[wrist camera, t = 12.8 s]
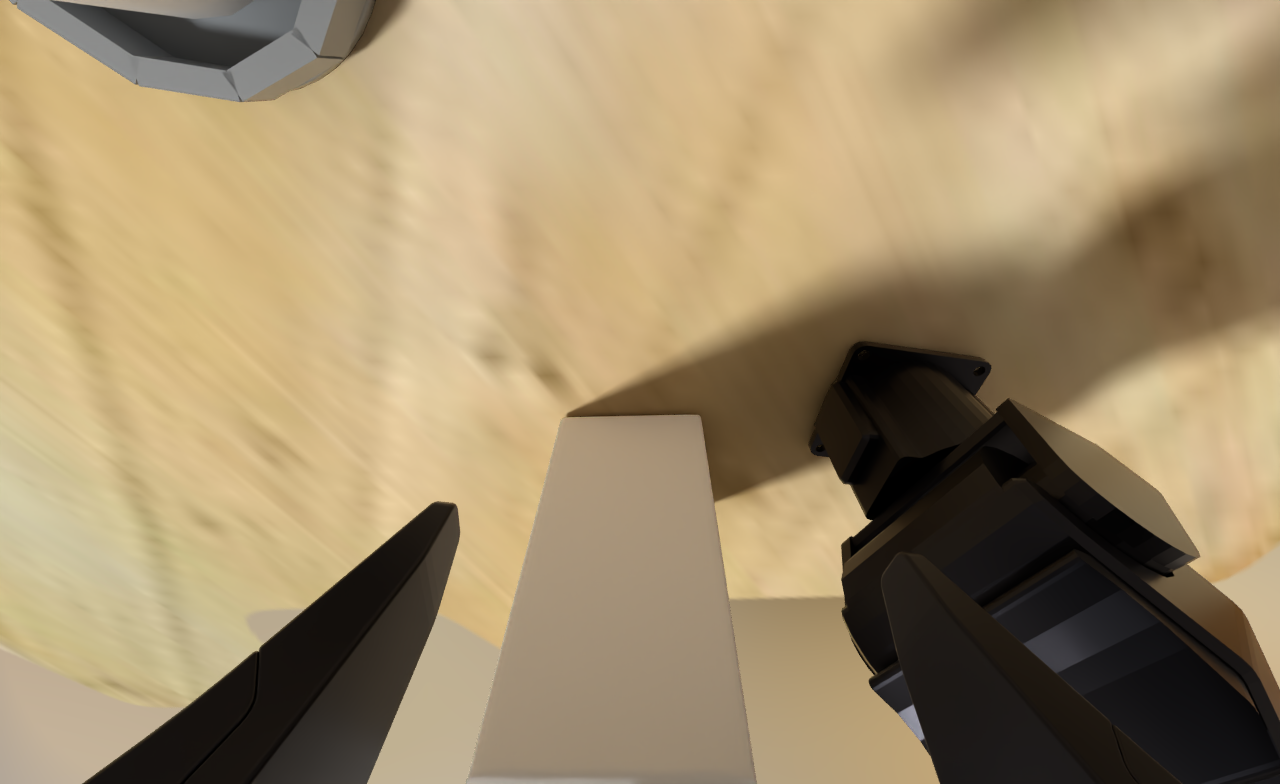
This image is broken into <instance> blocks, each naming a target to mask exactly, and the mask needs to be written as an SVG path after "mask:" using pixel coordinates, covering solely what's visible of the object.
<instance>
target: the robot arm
mask: <svg viewBox="0 0 1280 784" xmlns="http://www.w3.org/2000/svg"><path fill="white" fill-rule="evenodd" d="M865 350H866V352H865V354H864V355H862V356H858V354H859V353H860V352H861V351H865ZM978 367H980V368H979V369H978V370H976V371H974V370H975V369H976V368H978ZM990 371H991V365H990V364H989V363H988V362H987V361H986V360H985V359H983V358H980V357H973V356H966V355H958V354H951V353H944V352H937V351H930V350H922V349H915V348H908V347H901V346H894V345H886V344H879V343H872V342H865V341H864V342H858V343H856V344H854V345H853V346H852V347H851V349H850V350H849V353H848V355H847V357H846V360H845V362H844V364H843V366H842V369H841V371H840V373H839V375H838V378H837V380H836V381H835V382H834V383H833V384H832V385H831V387H830V389H829V391H828V393H827V396H826V398H825V400H824V403H823V405H822V407H821V409H820V412H819V414H818V416H817V419H816V421H815V423H814V426H815V430H814V432H813V434H812V437H811V439H810V441H809V448H810V450H811V452H812V453H813V454H814V455H817V456H824V457H829V458H830V460H831V462H832V464H833V466H834V468H835V470H836V472H837V475H838V477H839V479H840V480H841V481H842V483H843V484H849V485H850V486H851V488H852V490H853V492H854V494H855V496H856V498H857V500H858V502H859V504H860V506H861V508H862V510H863V512H864V514H865V516H866V518H867V519H869V520H873V521H871V522H870V523H869V524H868V525H867V526H866V527H865V528H863V529H862V530H861V531H860V532H859V533H858V534H856V535H855V536H854V537H849V538H848V539H847V540H846V541H845V542H843V543H842V545H841V549H842V565H843V574H842V579H841V580H842V586H843V591H844V596H845V607H844V608H842V617H843V621H844V623H845V625H846V627H847V629H848V631H849V634H850V637H851V639H852V642H853V644H854V646H855V648H856V650H857V651H858V653H859V655H860V657H861V658H862V660H863V661H864V662H865V664H866V665H867V667H868V668H869V669H870V671H871V672H872V673H873V674H874V676H872V677H871V678H870V679H869V684H870V686H871V688H872V689H873V690H874V691H875V692H876V693H877V694H878V695H879V696H880V697H881V698H882V699H883V700H884V701H885V702H886V703H887V704H888V705H889V706H890V707H892V708H893V709H894V710H895V711H896V712H897V713H898V714H899V716H900V717H901V718H902V719H903V721H904V722H905V723H906V724H907V725H908V727H909V728H910V729H911V730H912V732H913V733H914V734H915V735H916V736H917V738H918V739H919V740H920V741H921V743H922V744H923V746H924V747H925V749H926V750H927V752H928V753H929V755H930V756H931V758H932V762H933V764H934V767H935V770H936V773H937V776H938V779H939V782H940V784H1280V689H1279V687H1278V685H1277V682H1276V680H1275V678H1274V676H1273V674H1272V672H1271V670H1270V667H1269V665H1268V663H1267V661H1266V658H1265V656H1264V654H1263V652H1262V650H1261V648H1260V645H1259V643H1258V641H1257V639H1256V636H1255V635H1254V632H1253V630H1252V628H1251V626H1250V624H1249V621H1248V619H1247V618H1246V616H1245V614H1244V613H1243V611H1242V610H1241V609H1240V608H1239V607H1238V606H1237V605H1236V604H1235V603H1234V602H1233V601H1232V600H1230V599H1229V598H1228V597H1227V596H1225V595H1224V594H1223V593H1222V592H1220V591H1219V590H1218V589H1217V588H1216V587H1214V586H1213V585H1212V584H1211V583H1209V582H1208V581H1207V580H1206V579H1205V578H1203V577H1202V576H1201V575H1200V574H1198V573H1197V572H1196V571H1195V570H1193V569H1192V568H1191V567H1190V566H1189V565H1187V564H1188V563H1190V562H1192V561H1194V560H1195V559H1197V558H1199V557H1200V554H1199V551H1198V550H1197V548H1196V547H1195V545H1194V544H1193V542H1192V541H1191V539H1190V537H1189V536H1188V534H1187V533H1186V531H1185V530H1184V528H1183V527H1182V525H1181V524H1180V522H1179V520H1178V519H1177V517H1176V516H1175V514H1174V513H1173V511H1172V510H1171V508H1170V506H1169V505H1168V503H1167V502H1166V500H1165V499H1164V497H1163V496H1162V494H1161V493H1160V492H1159V491H1158V490H1157V489H1155V488H1154V487H1153V486H1152V485H1150V484H1149V483H1148V482H1146V481H1145V480H1144V479H1142V478H1141V477H1140V476H1138V475H1137V474H1136V473H1134V472H1133V471H1132V470H1130V469H1129V468H1128V467H1126V466H1125V465H1124V464H1122V463H1121V462H1120V461H1118V460H1117V459H1116V458H1114V457H1113V456H1112V455H1110V454H1109V453H1108V452H1106V451H1105V450H1104V449H1102V448H1101V447H1099V446H1098V445H1096V444H1094V443H1093V442H1091V441H1089V440H1087V439H1085V438H1083V437H1081V436H1079V435H1078V434H1076V433H1074V432H1072V431H1070V430H1068V429H1066V428H1064V427H1063V426H1061V425H1059V424H1057V423H1055V422H1053V421H1051V420H1049V419H1048V418H1046V417H1044V416H1042V415H1040V414H1038V413H1036V412H1034V411H1032V410H1031V409H1029V408H1027V407H1025V406H1023V405H1021V404H1019V403H1017V402H1016V401H1014V400H1012V399H1010V398H1008V399H1007V400H1006V401H1005V402H1003V403H1002V404H1001V405H1000V406H999V407H998V408H997V409H996V411H997V413H996V414H994V413H993V412H992V411H991V410H990V409H989V408H988V407H987V406H986V405H985V404H984V403H983V402H982V401H981V400H980V399H978V398H977V397H976V396H975V395H976V393H977V392H978V390H979V389H980V387H981V385H982V384H983V382H984V381H985V379H986V378H987V376H988V375H989V373H990ZM818 445H822V446H820V447H817V446H818ZM459 537H460V526H459V516H458V508H457V505H456V504H454V503H449V502H439V501H437V502H434V503H432V504H431V505H429V506H428V507H427V508H426V509H425V510H423V511H422V512H421V513H420V514H419V515H417V516H416V517H415V518H414V519H413V520H411V521H410V522H409V523H408V524H407V525H405V526H404V527H403V528H402V529H401V530H399V531H398V532H397V533H396V534H395V535H393V536H392V537H391V538H390V539H389V540H387V541H386V542H385V543H384V544H383V545H381V546H380V547H379V548H378V549H377V550H375V551H374V552H373V553H372V554H371V555H370V556H368V557H367V558H366V559H365V560H364V561H362V562H361V563H360V564H359V565H358V566H356V567H355V568H354V569H353V570H352V571H350V572H349V573H348V574H347V575H346V576H344V577H343V578H342V579H341V580H340V581H338V582H337V583H336V584H335V585H334V586H332V587H331V588H330V589H329V590H328V591H326V592H325V593H324V594H323V595H322V596H320V597H319V598H318V599H317V600H316V601H315V602H313V603H312V604H311V605H310V606H309V607H307V608H306V609H305V610H304V611H303V612H301V613H300V614H299V615H298V616H297V617H295V618H294V619H293V620H292V621H291V622H289V623H288V624H287V625H286V626H285V627H283V628H282V629H281V630H280V631H279V632H278V633H276V634H275V635H274V636H273V637H271V638H270V639H269V640H268V641H267V642H265V643H264V644H263V645H262V646H261V647H260V649H259V652H258V651H255V652H253V653H252V654H251V655H250V656H248V657H247V658H246V659H245V660H244V661H242V662H241V663H240V664H239V665H238V666H236V667H235V668H234V669H233V670H232V671H231V672H229V673H228V674H227V675H226V676H224V677H223V678H222V679H221V680H219V681H218V682H217V683H216V684H214V685H213V686H212V687H211V688H209V689H208V690H207V691H206V692H204V693H203V694H202V695H201V696H199V697H198V698H197V699H196V700H195V701H193V702H192V703H191V704H189V705H188V706H187V707H185V708H184V709H183V710H181V711H180V712H179V713H178V714H176V715H175V716H174V717H172V718H171V719H170V720H168V721H167V722H166V723H164V724H163V725H162V726H160V727H159V728H158V729H156V730H155V731H154V732H152V733H151V734H150V735H148V736H147V737H146V738H144V739H143V740H142V741H140V742H139V743H138V744H136V745H135V746H133V747H132V748H131V749H130V750H128V751H126V752H125V753H124V754H122V755H121V756H120V757H118V758H117V759H115V760H114V761H113V762H111V763H110V764H109V765H107V766H106V767H105V768H103V769H102V770H100V771H99V772H98V773H96V774H95V775H94V776H92V777H91V778H89V779H88V780H87V781H85V782H84V783H83V784H367V782H368V780H369V777H370V775H371V772H372V770H373V768H374V765H375V763H376V761H377V758H378V756H379V753H380V751H381V749H382V746H383V744H384V741H385V739H386V737H387V734H388V732H389V730H390V727H391V725H392V722H393V720H394V718H395V715H396V713H397V711H398V708H399V705H400V703H401V701H402V699H403V696H404V694H405V691H406V689H407V687H408V684H409V682H410V680H411V677H412V675H413V672H414V670H415V668H416V665H417V663H418V660H419V658H420V656H421V653H422V651H423V649H424V646H425V644H426V641H427V639H428V637H429V634H430V632H431V629H432V627H433V624H434V622H435V619H436V616H437V613H438V610H439V607H440V603H441V600H442V597H443V593H444V590H445V586H446V583H447V580H448V576H449V573H450V570H451V566H452V563H453V559H454V556H455V553H456V549H457V546H458V542H459Z"/></svg>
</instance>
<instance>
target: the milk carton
mask: <svg viewBox="0 0 1280 784" xmlns="http://www.w3.org/2000/svg"><path fill="white" fill-rule="evenodd" d="M466 784H757V781H756V775H755V769H754V762H753V756H752V749H751V742H750V735H749V729H748V723H747V716H746V709H745V703H744V696H743V689H742V683H741V676H740V670H739V663H738V657H737V650H736V644H735V637H734V630H733V624H732V617H731V611H730V604H729V597H728V591H727V584H726V578H725V571H724V565H723V558H722V551H721V545H720V538H719V532H718V525H717V519H716V512H715V505H714V499H713V492H712V486H711V479H710V472H709V466H708V459H707V453H706V446H705V440H704V433H703V426H702V420H701V417H700V416H699V415H647V416H601V417H567V418H563V419H561V421H560V424H559V428H558V432H557V436H556V440H555V443H554V447H553V451H552V455H551V459H550V463H549V466H548V470H547V474H546V478H545V482H544V485H543V489H542V493H541V497H540V501H539V505H538V508H537V512H536V516H535V520H534V524H533V528H532V531H531V535H530V539H529V543H528V547H527V551H526V554H525V558H524V562H523V566H522V570H521V574H520V577H519V581H518V585H517V589H516V593H515V597H514V600H513V604H512V608H511V612H510V616H509V620H508V623H507V627H506V631H505V635H504V639H503V643H502V646H501V650H500V654H499V658H498V662H497V666H496V670H495V673H494V677H493V681H492V685H491V689H490V692H489V696H488V700H487V704H486V708H485V712H484V715H483V719H482V723H481V727H480V731H479V735H478V739H477V743H476V747H475V751H474V755H473V759H472V763H471V767H470V771H469V775H468V778H467V780H466Z"/></svg>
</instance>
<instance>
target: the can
mask: <svg viewBox="0 0 1280 784" xmlns="http://www.w3.org/2000/svg"><path fill="white" fill-rule="evenodd" d="M55 1H62V2H70V3H77V4H85V5H92V6H100V7H108V8H115V9H123V10H130V11H138V12H145V13H153V14H160V15H168V16H175V17H183V18H190V19H200V18H210V17H220V16H230V15H233V14H234V13H236V12H237V11H239V10H241V9H242V8H244V7H245V6H247V5H248V4H250V3H251V2H253V1H254V0H55Z"/></svg>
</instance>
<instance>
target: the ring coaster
mask: <svg viewBox="0 0 1280 784" xmlns="http://www.w3.org/2000/svg"><path fill="white" fill-rule="evenodd" d="M9 1H10V2H11V3H12V4H14V5H17V8H18V9H19V10H21V11H22V12H24V13H25V14H27V15H29V16H30V17H32V18H33V19H35V20H36V21H38V22H39V23H41V24H43V25H44V26H46V27H47V28H49V29H50V30H52V31H53V32H55V33H56V34H58V35H60V36H61V37H63V38H64V39H66V40H67V41H69V42H70V43H72V44H73V45H75V46H77V47H78V48H80V49H81V50H83V51H84V52H86V53H87V54H89V55H90V56H92V57H94V58H95V59H97V60H98V61H100V62H101V63H103V64H104V65H106V66H108V67H109V68H111V69H112V70H114V71H115V72H117V73H118V74H120V75H121V76H123V77H125V78H126V79H128V80H129V81H131V82H132V83H134V84H139V86H142V87H148V88H155V89H161V90H167V91H174V92H180V93H186V94H192V95H199V96H205V97H211V98H218V99H224V100H230V101H237V102H250V101H267V100H275V99H277V98H279V97H280V96H282V95H284V94H286V93H287V92H289V91H292V90H296V89H300V88H303V87H305V86H307V85H309V84H312V83H314V82H316V81H318V80H320V79H321V78H323V77H324V76H326V75H327V74H328V73H330V72H331V71H333V70H334V69H335V68H336V67H337V66H338V65H339V64H340V63H341V62H342V61H343V60H344V59H345V58H346V57H347V56H348V55H349V54H350V52H351V51H352V49H353V48H354V46H355V45H356V43H357V42H358V40H359V39H360V37H361V36H362V34H363V31H364V29H365V27H366V25H367V22H368V20H369V18H370V16H371V14H372V10H373V7H374V3H375V0H254V1H253V2H251V3H250V4H248V5H247V6H245V7H244V8H242V9H241V10H239V11H237V12H236V13H234V14H233V15H230V16H220V17H210V18H200V19H190V18H183V17H175V16H168V15H160V14H153V13H145V12H138V11H130V10H123V9H115V8H108V7H100V6H92V5H85V4H77V3H70V2H62V1H55V0H9Z"/></svg>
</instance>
